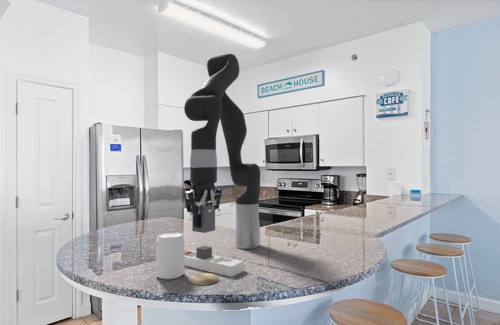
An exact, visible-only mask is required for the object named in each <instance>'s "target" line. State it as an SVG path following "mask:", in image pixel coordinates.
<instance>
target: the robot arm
mask: <svg viewBox="0 0 500 325" xmlns="http://www.w3.org/2000/svg"><path fill="white" fill-rule="evenodd" d="M206 70H207V74H208V77H209V78H207V79H206V80H205V81H204V82H203V84H202V86H201V88H200V89H197V90H196V91H195V92H194V93H192V94H190V95H189V96H188V97H187V98H186V100H185V102H184V105H183V107H184V114H185V116H186V117H187V119H189V120H190V121H192V122H206V124H205V125H204V126H203V127H200V128H197V129H193V130H192V131H191V135H190V136H191V138H190V140H191V141H190V143H191V144H190V146H191V147H190V149H191V150H190V160H189V161H190V162H189V168H190V169H189V171H190V172H189V174H190V175H189V179H190V183H191V184H192V186H191V188H190V190H188V191H184V192H183V198H184V203H185V207H186V208H185V209H186V212H187V213H190V214H191V215H192V214H193V225H194V227H195V228H201V215H200V214H201V211H202V207H203V206H204V205H211V206H212V205H213V206H215V211H216V210H219V208H220V204H221V199H222V198H221V197H222V193H223V190H222V188H216V186H215V184H216V183H217V182H218V156H217V133H218V128H219V124H221V128H222V129H221V130H222V133H223V135H224V136H223V137H224V140H225V145H226V151H227V155H228V161H229V162H228V164H229V171H230V176H231V180H232V182H233V184H234V185H235V186H237V187H246V190H245V192H243V193H242V194H239V195H237V196H236V197H235V248H238V249H241V250H242V249H243V250H251V249H257V248H259V247H260V245H261V240H260V238H261V223H260V215H259V214H260V212H259V211H260V210H259V209H260V204H259V200H260V196H261V195H260V194H261V169H260V166H259V164H257V163H243V161H242V148H243V145H244V143H245V141H246V137H247V131H248V129H247V128H248V127H247V124H246V119H245V114H244V112H243V111H242V109H241V108H240V107H239V106H238V105H237V104H236V103H235V102H234V101H233V100H232V99H231V97H230V96H229V95H228V94H227V89H228V88H229V87H230V86H232V84H233V83H234V82H235V81H236V80H237V78H239V75H240V64H239V60H238V58H237V57H236V54H235V55H234V54H233V53H225V54H220V55H216V56H211V57H209V58H207V61H206ZM197 206H198V209H196V207H197Z"/></svg>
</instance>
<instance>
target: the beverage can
mask: <svg viewBox="0 0 500 325" xmlns="http://www.w3.org/2000/svg"><path fill="white" fill-rule="evenodd" d="M155 247H156V248H155V276H156V277H157V278H160V279H162V280H175V279H178V278H180V277H183V275H184V274H185V266H184V250H185V237H184V235H183V233H182V232H164V233H160V234H158V235H157V238H156V240H155Z"/></svg>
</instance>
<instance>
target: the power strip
mask: <svg viewBox="0 0 500 325" xmlns="http://www.w3.org/2000/svg"><path fill="white" fill-rule="evenodd" d="M184 267H188V268H191V269H192V268H193V269H196V270H201V271H204V272H208V273H209V272H210V273H212V274H216V275H217V274H219V275H222V276H226V277H231V278H232V277H235V276H237V275H238V274H241V273H243V272H244V271H245V260H241V259H236V258H230V257H226V256H221V255H215V254H213V247H212V246H207V245H201V246H199V247H196V251H195V250H186V249H184Z"/></svg>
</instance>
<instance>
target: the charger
mask: <svg viewBox="0 0 500 325" xmlns="http://www.w3.org/2000/svg"><path fill="white" fill-rule="evenodd" d="M196 209H198V206H197V207H196ZM191 215H192V222H191V223H192V229H191V230H192V232H194V233H195V232H196V233H202V234H205V233H209V232H213V231H216V210H215V206H213V205H212V206H211V205H205V204H204V206H203V207H202V211H201V214H200V215H201V228H195V227H194V225H193V214H192V213H191Z"/></svg>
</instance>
